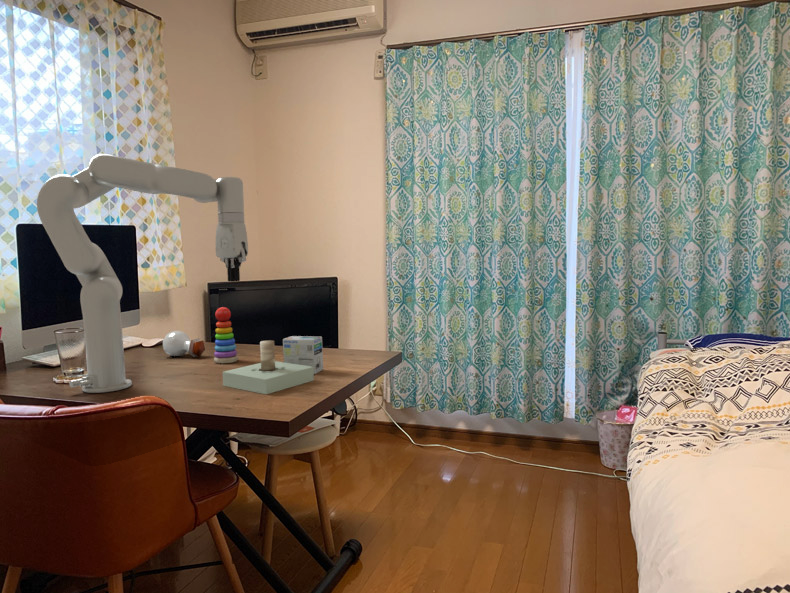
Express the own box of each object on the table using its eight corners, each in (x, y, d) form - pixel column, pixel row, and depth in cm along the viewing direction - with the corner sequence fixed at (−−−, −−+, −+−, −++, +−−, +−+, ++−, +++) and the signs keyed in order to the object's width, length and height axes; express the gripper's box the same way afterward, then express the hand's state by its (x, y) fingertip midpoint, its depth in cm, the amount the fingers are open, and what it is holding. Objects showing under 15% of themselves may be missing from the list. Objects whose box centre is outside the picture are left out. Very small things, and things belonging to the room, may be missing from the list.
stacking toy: (241, 359, 201) (239, 305, 199) (233, 364, 193) (230, 308, 191) (219, 359, 201) (217, 306, 200) (210, 364, 193) (207, 308, 192)
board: (266, 394, 153) (265, 379, 152) (223, 385, 163) (222, 371, 163) (313, 380, 167) (313, 366, 167) (271, 373, 178) (270, 360, 178)
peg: (268, 385, 163) (266, 343, 161) (258, 383, 165) (256, 342, 164) (279, 382, 166) (277, 341, 165) (269, 380, 168) (267, 340, 167)
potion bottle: (167, 358, 212) (201, 365, 207) (152, 347, 204) (186, 354, 199) (178, 336, 216) (211, 342, 211) (164, 324, 208) (197, 330, 203)
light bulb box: (324, 369, 181) (322, 335, 180) (315, 374, 175) (314, 339, 174) (292, 368, 184) (291, 335, 183) (283, 373, 178) (281, 338, 177)
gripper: (205, 220, 173) (207, 281, 175) (237, 218, 164) (239, 282, 166) (225, 220, 179) (228, 279, 181) (257, 219, 170) (260, 281, 172)
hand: (233, 281), depth 173 cm, fingers closed
